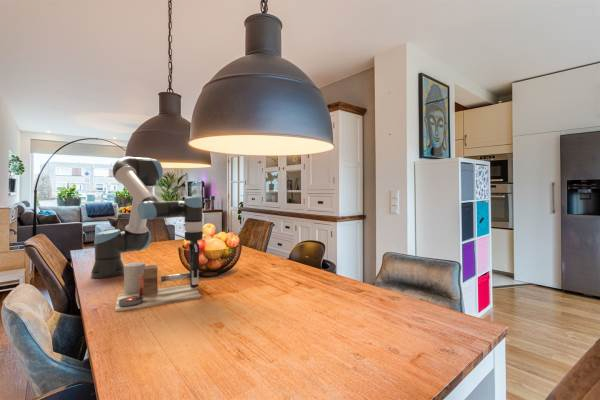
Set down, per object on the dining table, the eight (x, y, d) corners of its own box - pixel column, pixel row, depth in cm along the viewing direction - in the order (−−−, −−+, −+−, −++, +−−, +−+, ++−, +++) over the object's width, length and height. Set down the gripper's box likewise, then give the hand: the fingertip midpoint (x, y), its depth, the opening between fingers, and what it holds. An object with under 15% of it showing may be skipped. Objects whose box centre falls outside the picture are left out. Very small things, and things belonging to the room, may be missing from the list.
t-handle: (161, 289, 132) (160, 265, 131) (197, 284, 139) (197, 262, 138) (161, 291, 128) (161, 267, 128) (199, 286, 136) (198, 263, 135)
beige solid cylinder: (120, 292, 132) (119, 265, 131) (137, 287, 139) (137, 261, 139) (132, 295, 128) (131, 267, 128) (149, 290, 135) (148, 263, 135)
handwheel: (135, 296, 122) (135, 273, 122) (151, 298, 120) (151, 275, 120) (113, 305, 113) (113, 280, 113) (130, 307, 110) (129, 282, 110)
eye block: (118, 296, 126) (117, 268, 126) (194, 286, 140) (193, 260, 140) (115, 311, 110) (114, 278, 110) (200, 298, 124) (200, 268, 124)
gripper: (182, 229, 141) (183, 279, 142) (187, 233, 127) (188, 289, 127) (199, 228, 145) (199, 277, 145) (205, 232, 130) (206, 286, 131)
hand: (194, 283), depth 136 cm, fingers closed on t-handle, 4 cm apart
